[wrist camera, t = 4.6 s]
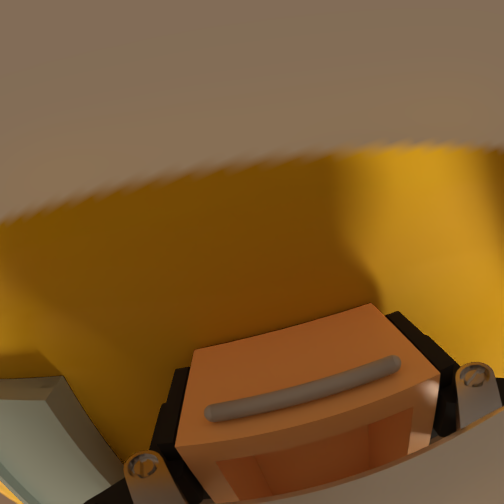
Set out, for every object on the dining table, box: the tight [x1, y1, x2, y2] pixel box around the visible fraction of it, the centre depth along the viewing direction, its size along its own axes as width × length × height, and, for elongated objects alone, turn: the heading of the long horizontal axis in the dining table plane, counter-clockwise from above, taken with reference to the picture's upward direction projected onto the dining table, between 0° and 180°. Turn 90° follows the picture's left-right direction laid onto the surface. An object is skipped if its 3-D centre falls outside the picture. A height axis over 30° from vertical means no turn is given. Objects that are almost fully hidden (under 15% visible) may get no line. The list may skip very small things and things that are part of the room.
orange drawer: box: [175, 303, 440, 503], centre depth 10 cm, size 13×7×5 cm, turn 14°
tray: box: [0, 376, 125, 504], centre depth 13 cm, size 18×13×2 cm
